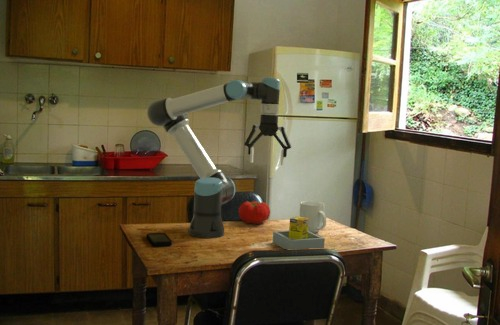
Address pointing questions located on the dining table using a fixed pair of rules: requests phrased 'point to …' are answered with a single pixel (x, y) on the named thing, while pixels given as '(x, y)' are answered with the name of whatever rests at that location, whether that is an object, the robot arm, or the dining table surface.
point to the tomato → (254, 212)
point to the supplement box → (298, 228)
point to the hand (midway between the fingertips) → (266, 163)
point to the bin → (297, 241)
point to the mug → (313, 215)
